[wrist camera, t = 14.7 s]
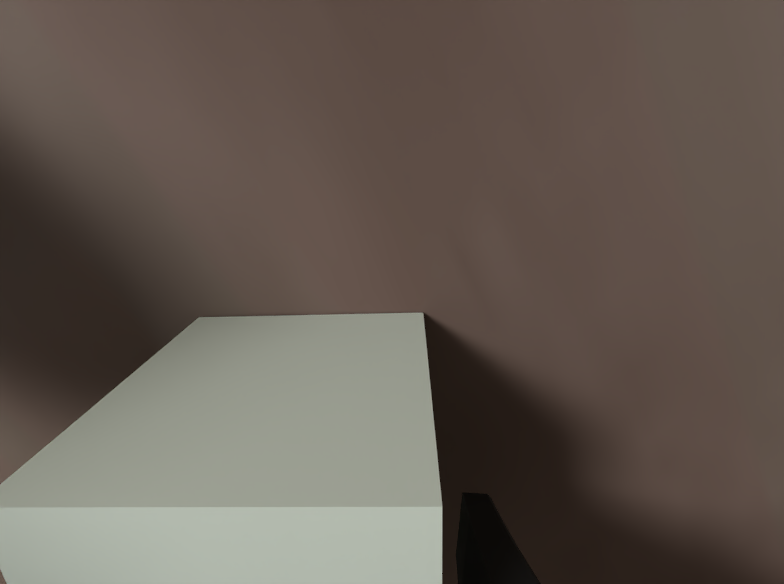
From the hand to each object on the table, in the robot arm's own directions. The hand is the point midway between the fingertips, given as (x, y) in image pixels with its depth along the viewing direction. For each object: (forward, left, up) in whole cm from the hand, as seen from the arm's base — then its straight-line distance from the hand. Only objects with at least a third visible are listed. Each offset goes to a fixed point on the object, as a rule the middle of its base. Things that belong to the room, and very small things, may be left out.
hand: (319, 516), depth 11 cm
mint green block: (0, 0, -2) cm, 2 cm away
